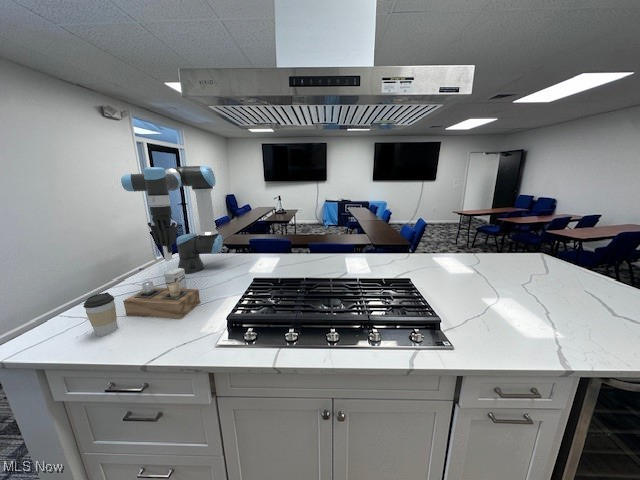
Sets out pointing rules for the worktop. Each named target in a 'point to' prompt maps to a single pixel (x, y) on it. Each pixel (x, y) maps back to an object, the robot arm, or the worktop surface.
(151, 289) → the steel pin
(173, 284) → the birch dowel
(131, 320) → the worktop surface
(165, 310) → the walnut block
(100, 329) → the coffee cup
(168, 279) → the ink box
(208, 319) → the worktop surface
